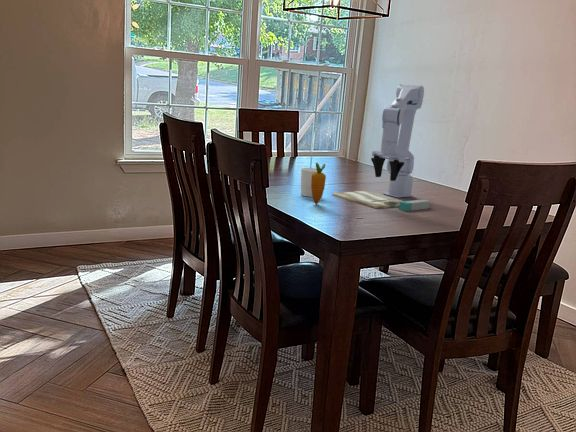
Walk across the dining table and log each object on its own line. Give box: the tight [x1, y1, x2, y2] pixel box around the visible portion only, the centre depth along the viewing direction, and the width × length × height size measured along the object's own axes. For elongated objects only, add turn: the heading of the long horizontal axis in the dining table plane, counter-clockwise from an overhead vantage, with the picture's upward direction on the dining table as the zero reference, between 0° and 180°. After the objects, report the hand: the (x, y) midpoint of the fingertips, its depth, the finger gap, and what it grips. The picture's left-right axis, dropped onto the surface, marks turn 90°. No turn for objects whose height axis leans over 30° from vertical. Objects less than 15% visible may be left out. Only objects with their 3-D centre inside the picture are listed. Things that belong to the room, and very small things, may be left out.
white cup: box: [300, 167, 323, 198], centre depth 203 cm, size 8×8×10 cm
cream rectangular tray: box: [331, 190, 403, 209], centre depth 203 cm, size 18×24×2 cm
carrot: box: [311, 162, 327, 205], centre depth 187 cm, size 5×5×15 cm
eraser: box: [398, 199, 431, 212], centre depth 194 cm, size 14×3×3 cm, turn 126°
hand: (385, 178), depth 195 cm, fingers open, 7 cm apart
